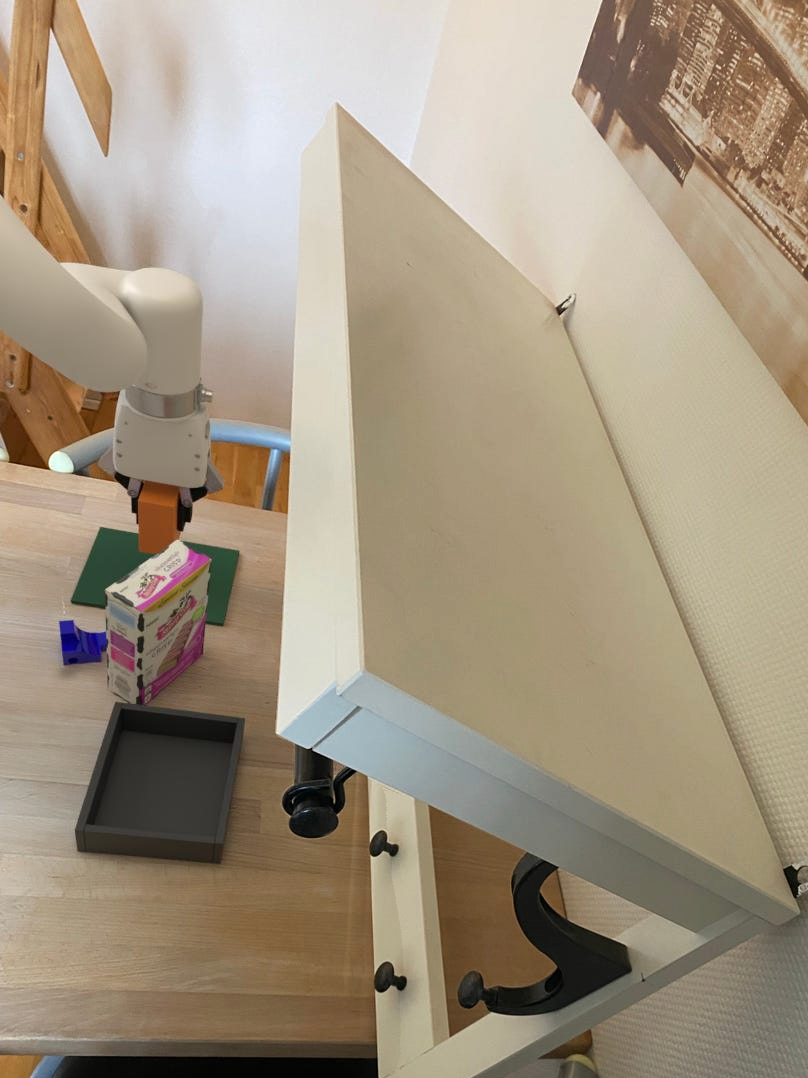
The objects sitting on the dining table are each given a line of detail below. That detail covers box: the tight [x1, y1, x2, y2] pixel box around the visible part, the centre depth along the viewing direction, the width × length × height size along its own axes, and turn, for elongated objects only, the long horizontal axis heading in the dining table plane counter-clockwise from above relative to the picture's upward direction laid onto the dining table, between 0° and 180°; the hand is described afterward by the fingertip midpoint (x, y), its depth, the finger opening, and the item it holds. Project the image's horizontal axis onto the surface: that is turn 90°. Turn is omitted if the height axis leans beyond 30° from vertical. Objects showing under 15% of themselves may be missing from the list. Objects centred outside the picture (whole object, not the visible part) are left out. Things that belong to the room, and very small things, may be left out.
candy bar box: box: [105, 539, 212, 706], centre depth 94 cm, size 11×5×16 cm, turn 154°
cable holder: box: [58, 619, 107, 666], centre depth 98 cm, size 8×4×4 cm, turn 112°
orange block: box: [138, 480, 182, 554], centre depth 102 cm, size 4×7×8 cm, turn 3°
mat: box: [70, 526, 240, 627], centre depth 110 cm, size 18×14×1 cm
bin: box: [74, 701, 246, 865], centre depth 88 cm, size 14×16×4 cm
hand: (162, 519), depth 103 cm, fingers closed on orange block, 4 cm apart
